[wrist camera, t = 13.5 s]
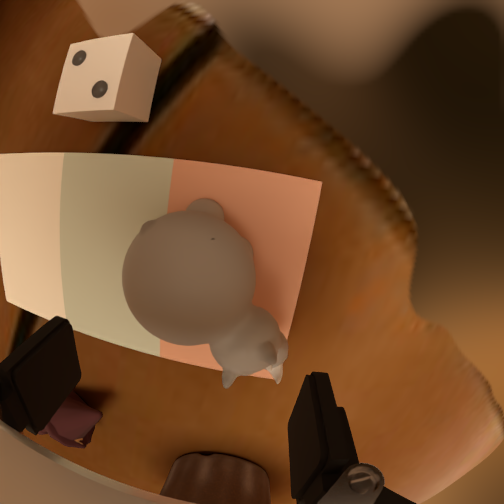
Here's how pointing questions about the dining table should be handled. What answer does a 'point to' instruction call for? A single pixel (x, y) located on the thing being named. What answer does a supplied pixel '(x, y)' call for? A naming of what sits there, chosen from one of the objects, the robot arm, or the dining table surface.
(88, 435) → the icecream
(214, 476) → the plant pot
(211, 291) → the round bodied animal figurine
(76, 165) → the game mat
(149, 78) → the die
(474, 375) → the dining table surface
